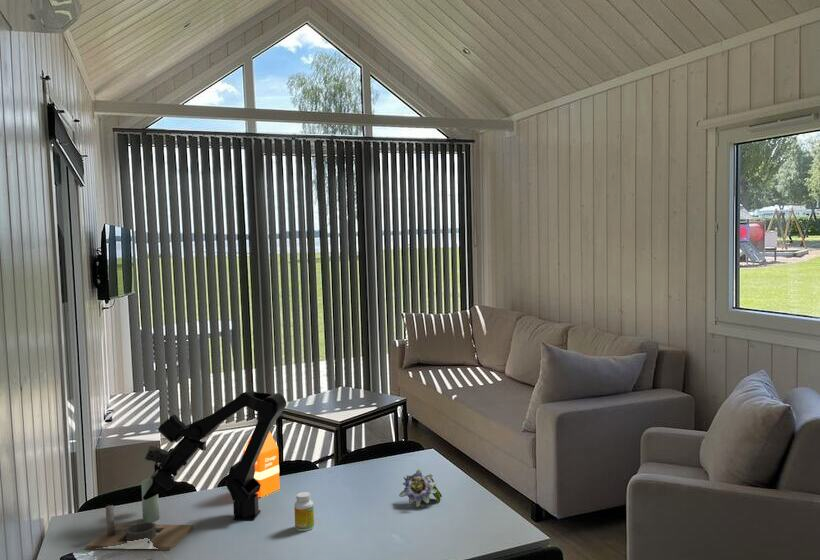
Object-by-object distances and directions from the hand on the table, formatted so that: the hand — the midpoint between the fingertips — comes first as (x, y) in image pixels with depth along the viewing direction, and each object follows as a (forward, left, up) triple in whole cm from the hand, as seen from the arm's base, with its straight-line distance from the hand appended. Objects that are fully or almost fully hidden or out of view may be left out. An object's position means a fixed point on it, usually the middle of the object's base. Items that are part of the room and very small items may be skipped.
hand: (144, 493), depth 191 cm
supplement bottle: (-50, +4, -8) cm, 51 cm away
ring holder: (-5, +12, -8) cm, 16 cm away
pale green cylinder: (-1, -1, -8) cm, 8 cm away
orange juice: (-28, -24, -8) cm, 38 cm away
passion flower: (-82, -16, -8) cm, 84 cm away
